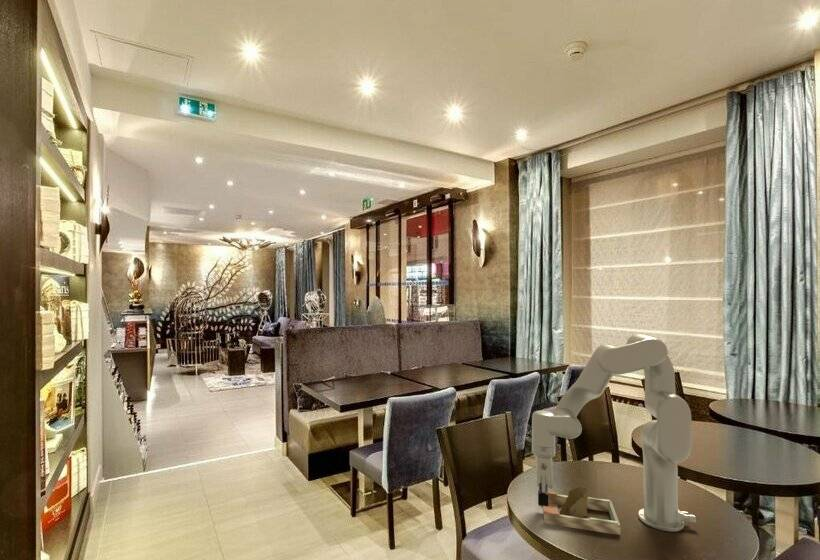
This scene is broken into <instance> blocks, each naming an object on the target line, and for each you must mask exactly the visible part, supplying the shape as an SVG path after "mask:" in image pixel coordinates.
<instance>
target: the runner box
mask: <svg viewBox="0 0 820 560" xmlns="http://www.w3.org/2000/svg"><path fill="white" fill-rule="evenodd" d="M567 497H568V495H563V494H558V493H557V496H556V495H549V494H548V503H552V504H557V506H558V505H559V506H562V505H563V504H564V503H565V502H566V499H567ZM586 507H587V510H593V511H599V512H600V511H601V512H608V513H609V516H610V518H611V519H610V520H609V519H606V518H605V519H603V518H597V517H589V518H586V517H573V516H567V515H560V514H559V516H556V515H550V514H544V513H543V524H547V525H553V526H561V527H566V528H573V529H578V530H586V531H593V532H599V533H604V534H611V535H618V536H621V523H620V520H619V518H618V515H617V512H616V510H615V506H614V505H613V502H612V501H611V500H610V499H605V498H596V497H590V496H588V500H587V505H586Z"/></svg>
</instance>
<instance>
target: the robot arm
mask: <svg viewBox="0 0 820 560" xmlns="http://www.w3.org/2000/svg"><path fill="white" fill-rule="evenodd" d="M667 347H668V346H667V345H666V344H665V343H664V342H663V341H662V340H661V339H659V338H657V337H653V336H650V335H647V334H641V333H640V334H637V333H636V334H633V335H630V337H629V338H627V340H626V344H624V345H620V346H614V345H610V344H601V345H600V346H598V347H597V348H595V350H594V351H593V353H592V355H591V356H590V359H589V360H588V361H587V363H586V365H585V366H584V367H583V370H582V371H581V373H580V375H579V377H577V380H576V381H575V382H574V383H572V385H571V386H570V387H569V388H568V390H566V391H565V393H564V394H563V396H562V397H561V399H560V400H559V401H558V403H557V405H556V407H555V409H554V410H553V412H552V411H548V410H542V409H541V410H536V411H535V410H534V411H533V413H532V414H531V415H532V416H531V454H533V455H534V456H535V478H536V485H537V487H538V491H537V492H538V493H537V504H538V506H542V507H543V506H548V492H549V490H548V488H549V489H551V490H552V489H553V458H554V457H556V437H558V438H559V437H560V438H563V439H570V440H572V439H576V438H579V436H580V435H581V434H582V430H583V428H582V424H581V422H580V420H579V419H578V418H577V417H578V415H579V413H580V412H581V410H582V409H583V407H584V406H585V405H586V404H587V403H589V402H590V401H592V400H595V399H598V398H600V397H601V395H603V393H604V391H605V390H606V389H607V387H608V385H609V383H610V381H611V379H613V377H614V375H615V376H617V375H619V376H620V375H624V374H630V373H633V372H637V371H641V370H643V374H644V407H645V409H646V410H647V413H649V414H650V415H651V416H653V417H654V418H655V419H653V420H649V421H647V422H646V423H644V424H643V426H642V427H641V430H640V443H641V448H642V449H641V450H642V460H643V461H642V462H643V470H642V471H643V472H642V473H643V474H642V475H643V476H642V477H643V479H642V480H643V487H642V488H643V508H641V509H639V510H638V515H637V516H638V519H639V520H640V521H641V522H643V523H644V524H645V525H647V526H648V527H650V528H651V527H652V528H653V529H657V530H659V531H662V532H663V531H665V532H670V533H671V532H673V533H674V532H679V531H680V532H681V530H683V529H684V528H685V521H687V522H690V523H696V522H697V517H696V516H695V515H694V514H689V512H688V511H684V510H680V509H679V504H678V503H679V497H678V494H679V493H678V491H679V489H678V488H679V487H678V484H679V482H678V481H679V479H678V476H679V474H678V473H679V472H678V471H679V470H678V464H680V463H683V462H685V461H686V460H687V459H688V458H689V456H690V455H691V451H692V412H691V408H690V406H689V404H688V403H687V401H686V400H685V399H683V398H682V397H681V396H679V395H677V391H676V380H675V379H676V377H675V376H676V375H675V369H674V365H673V361H672V359H670V357H669V355H668V351H669V350H668V348H667Z"/></svg>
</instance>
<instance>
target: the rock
mask: <svg viewBox="0 0 820 560" xmlns="http://www.w3.org/2000/svg"><path fill="white" fill-rule="evenodd" d="M567 496H568V497H567V499H566V502H565V503H564V504H563V505H561V508H560V511H558V513H559V514H560V515H567V516H573V517H580V518H586V517H587V516H588V509H587V507H586V505H587V500H588V497H589V496H588V490H587V488H586V487H582V486H577V487H576V488H573V489H572V490H569V493H568V495H567Z"/></svg>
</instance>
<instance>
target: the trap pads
mask: <svg viewBox="0 0 820 560" xmlns="http://www.w3.org/2000/svg"><path fill="white" fill-rule="evenodd" d="M548 494H549V495H556V496H557V494H558V492H554V491H553V492H552V491H548ZM542 508H543V515H544V514H550V515H556V516H559V510H558V505H557V504H552V503H548V506H542Z"/></svg>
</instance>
